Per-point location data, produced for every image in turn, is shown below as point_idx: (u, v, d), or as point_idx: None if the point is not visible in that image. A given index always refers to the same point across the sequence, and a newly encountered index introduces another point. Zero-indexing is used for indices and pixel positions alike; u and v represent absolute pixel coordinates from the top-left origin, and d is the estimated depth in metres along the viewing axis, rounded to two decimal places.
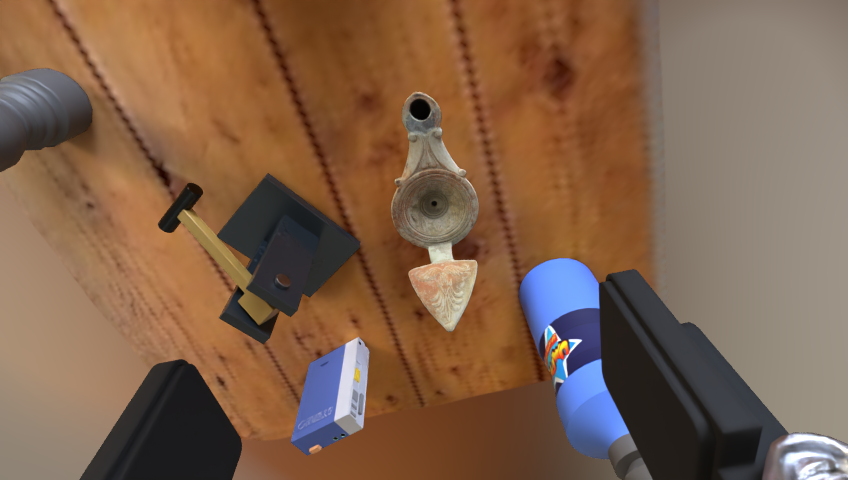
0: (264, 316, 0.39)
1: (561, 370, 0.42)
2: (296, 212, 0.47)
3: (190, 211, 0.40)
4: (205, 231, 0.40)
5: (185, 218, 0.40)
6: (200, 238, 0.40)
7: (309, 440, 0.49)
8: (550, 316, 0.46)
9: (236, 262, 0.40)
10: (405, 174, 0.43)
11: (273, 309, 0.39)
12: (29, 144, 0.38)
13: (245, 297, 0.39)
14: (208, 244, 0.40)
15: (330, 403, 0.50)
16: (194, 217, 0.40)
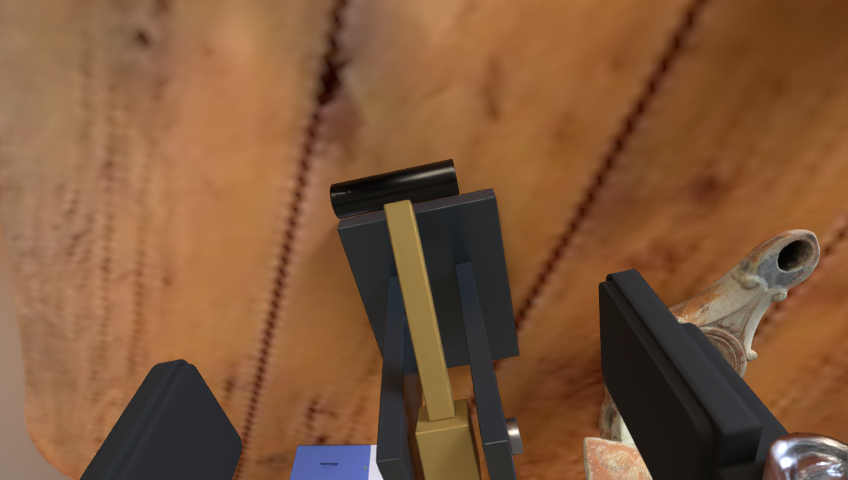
0: None
1: None
2: (488, 268, 0.27)
3: (413, 208, 0.19)
4: (424, 264, 0.19)
5: (401, 218, 0.18)
6: (407, 272, 0.18)
7: None
8: None
9: (442, 351, 0.19)
10: (696, 320, 0.27)
11: None
12: None
13: (440, 437, 0.18)
14: (416, 292, 0.18)
15: None
16: (415, 224, 0.19)
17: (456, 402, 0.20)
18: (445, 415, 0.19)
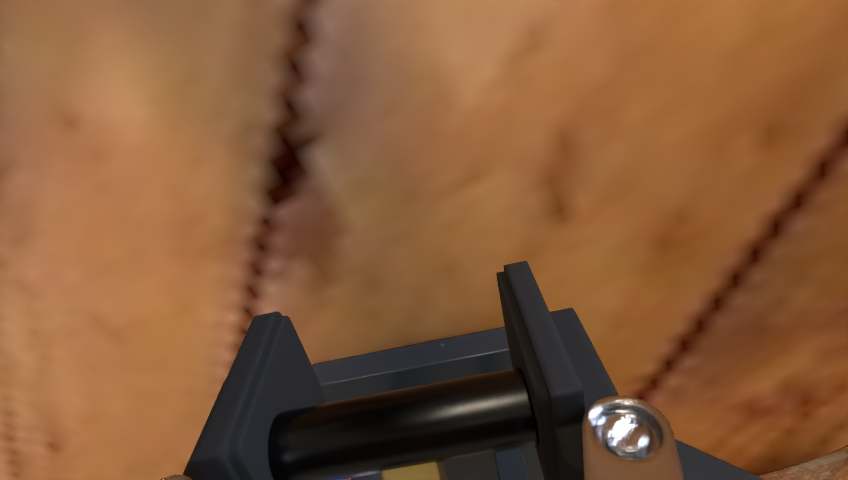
0: None
1: None
2: None
3: (441, 465, 0.09)
4: None
5: None
6: None
7: None
8: None
9: None
10: None
11: None
12: None
13: None
14: None
15: None
16: None
17: None
18: None
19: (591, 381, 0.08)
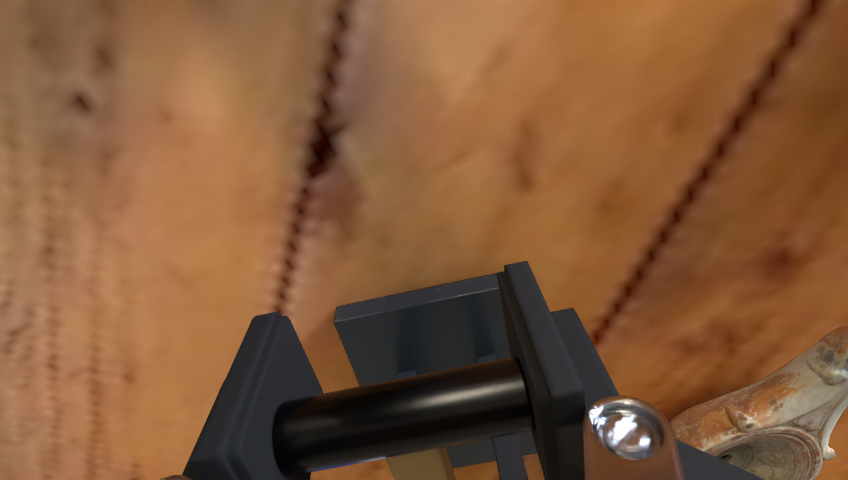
0: None
1: None
2: None
3: None
4: None
5: (422, 472, 0.10)
6: None
7: None
8: None
9: None
10: (767, 419, 0.22)
11: None
12: None
13: None
14: None
15: None
16: (446, 462, 0.10)
17: None
18: None
19: (592, 381, 0.08)
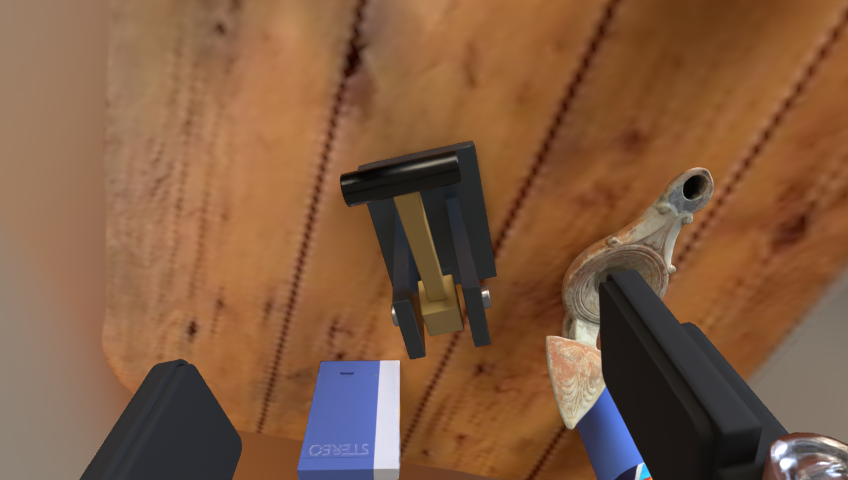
0: (446, 332, 0.28)
1: None
2: (470, 202, 0.36)
3: None
4: (427, 226, 0.22)
5: (410, 204, 0.20)
6: (414, 235, 0.22)
7: (322, 477, 0.36)
8: None
9: (439, 266, 0.25)
10: (626, 239, 0.36)
11: (463, 327, 0.29)
12: None
13: (439, 314, 0.27)
14: (422, 245, 0.23)
15: (363, 437, 0.38)
16: (421, 202, 0.21)
17: (445, 279, 0.28)
18: (441, 298, 0.27)
19: None
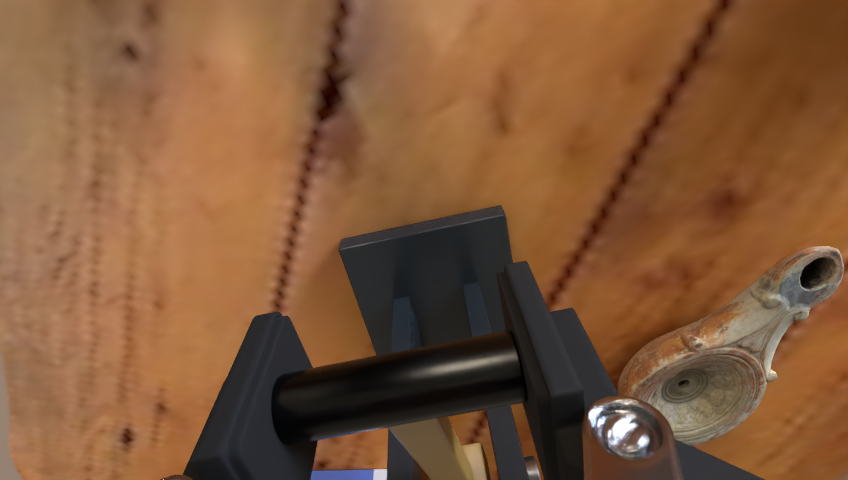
0: None
1: None
2: (497, 288, 0.26)
3: None
4: (449, 436, 0.12)
5: (417, 427, 0.10)
6: (425, 453, 0.12)
7: None
8: None
9: (464, 459, 0.15)
10: (714, 340, 0.26)
11: None
12: None
13: None
14: (438, 460, 0.13)
15: None
16: None
17: (470, 451, 0.18)
18: None
19: (591, 381, 0.08)
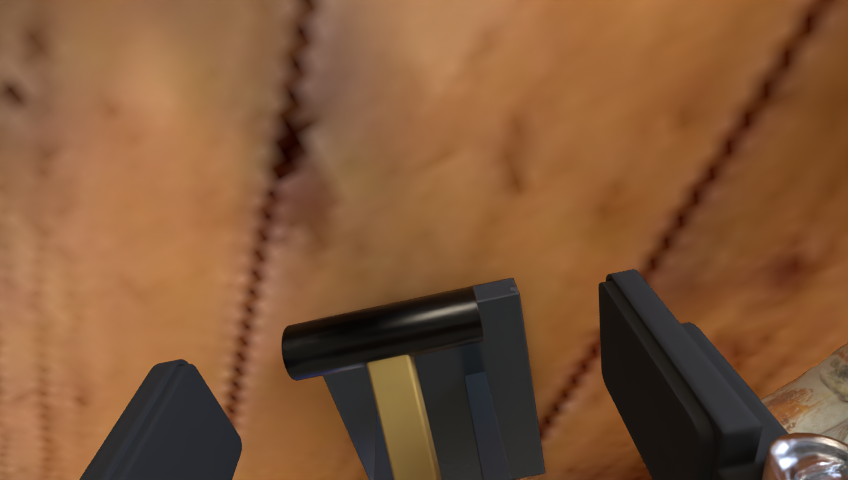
0: None
1: None
2: (507, 378, 0.21)
3: (413, 362, 0.12)
4: (431, 449, 0.12)
5: (396, 383, 0.12)
6: (406, 466, 0.12)
7: None
8: None
9: None
10: None
11: None
12: None
13: None
14: None
15: None
16: (418, 388, 0.12)
17: None
18: None
19: None
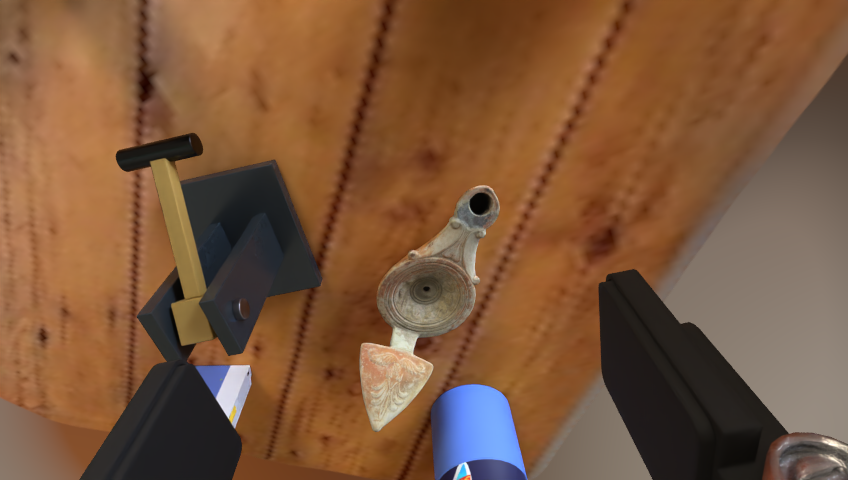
0: (196, 340, 0.29)
1: None
2: (279, 217, 0.38)
3: (172, 164, 0.30)
4: (178, 199, 0.30)
5: (161, 169, 0.29)
6: (166, 203, 0.29)
7: None
8: (470, 453, 0.43)
9: (195, 256, 0.30)
10: (424, 252, 0.38)
11: (213, 338, 0.29)
12: None
13: (185, 306, 0.29)
14: (172, 216, 0.29)
15: None
16: (173, 174, 0.30)
17: None
18: (194, 295, 0.30)
19: None
